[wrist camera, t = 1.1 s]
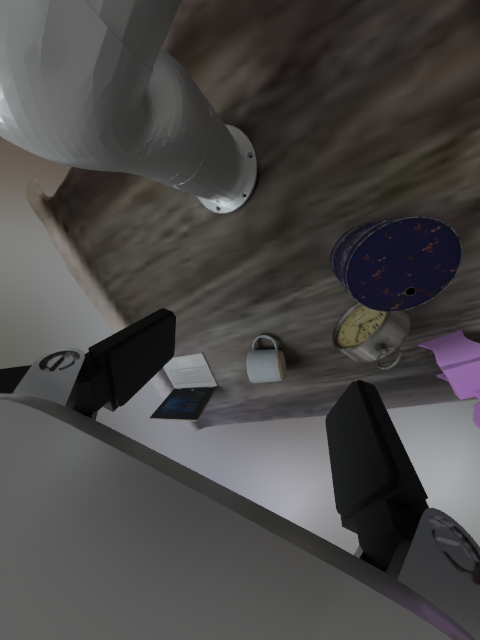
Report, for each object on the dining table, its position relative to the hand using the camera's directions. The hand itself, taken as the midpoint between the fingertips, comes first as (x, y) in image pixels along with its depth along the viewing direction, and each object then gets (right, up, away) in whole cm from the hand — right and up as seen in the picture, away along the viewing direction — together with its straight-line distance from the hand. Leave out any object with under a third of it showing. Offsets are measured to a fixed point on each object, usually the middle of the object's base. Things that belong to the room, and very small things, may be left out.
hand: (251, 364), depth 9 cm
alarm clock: (+23, +3, +27) cm, 35 cm away
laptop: (-17, -14, +50) cm, 55 cm away
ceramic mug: (+6, -6, +37) cm, 38 cm away
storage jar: (+21, +14, +23) cm, 34 cm away
